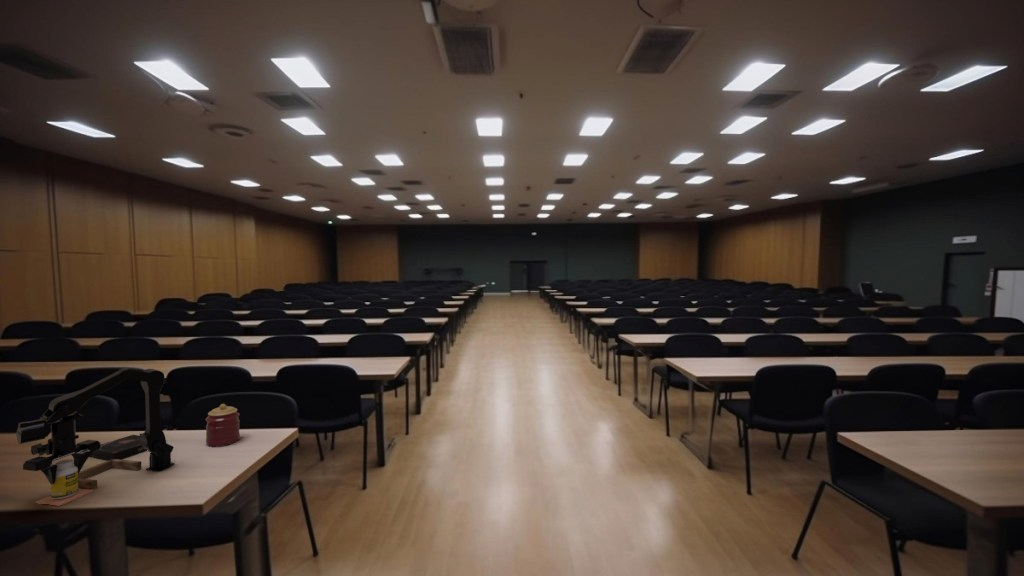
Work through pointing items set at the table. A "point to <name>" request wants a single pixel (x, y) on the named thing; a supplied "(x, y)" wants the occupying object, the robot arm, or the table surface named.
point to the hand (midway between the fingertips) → (64, 478)
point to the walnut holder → (102, 467)
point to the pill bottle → (65, 480)
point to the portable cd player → (119, 448)
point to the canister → (222, 426)
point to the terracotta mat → (65, 500)
